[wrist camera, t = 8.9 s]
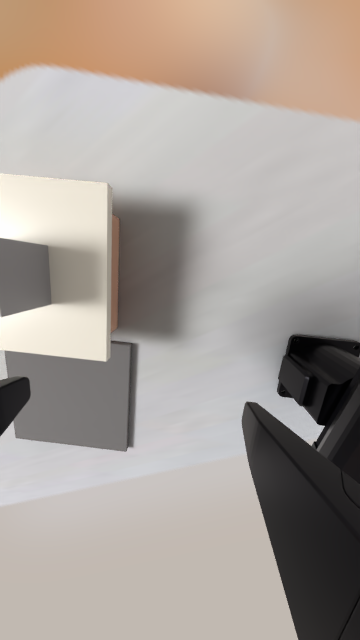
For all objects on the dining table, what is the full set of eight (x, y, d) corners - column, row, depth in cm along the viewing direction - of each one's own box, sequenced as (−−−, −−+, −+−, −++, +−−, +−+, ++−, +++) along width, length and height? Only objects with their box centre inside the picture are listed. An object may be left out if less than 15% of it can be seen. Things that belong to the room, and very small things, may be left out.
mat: (131, 343, 21) (130, 345, 20) (127, 447, 24) (126, 451, 23) (7, 329, 21) (2, 331, 20) (19, 433, 24) (15, 438, 24)
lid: (112, 187, 13) (70, 144, 9) (110, 357, 16) (78, 392, 12) (-65, 172, 14) (-198, 122, 9) (-36, 341, 17) (-124, 369, 12)
